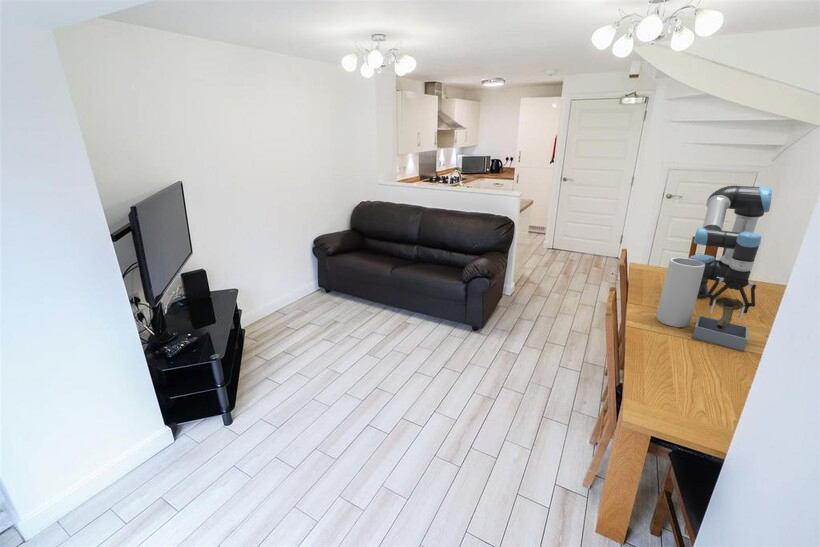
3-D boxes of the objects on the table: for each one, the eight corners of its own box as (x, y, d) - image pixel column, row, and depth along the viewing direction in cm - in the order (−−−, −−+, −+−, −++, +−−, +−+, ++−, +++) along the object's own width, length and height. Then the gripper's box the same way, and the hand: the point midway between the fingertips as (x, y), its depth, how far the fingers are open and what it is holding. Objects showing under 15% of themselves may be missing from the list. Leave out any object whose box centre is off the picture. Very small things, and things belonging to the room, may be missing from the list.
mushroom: (738, 334, 170) (749, 304, 165) (716, 332, 171) (726, 302, 166) (726, 324, 178) (736, 295, 173) (705, 322, 180) (714, 293, 175)
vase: (686, 318, 196) (702, 259, 185) (692, 330, 184) (709, 268, 173) (653, 313, 202) (667, 255, 191) (657, 324, 189) (672, 264, 179)
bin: (695, 326, 188) (698, 315, 186) (744, 338, 177) (748, 326, 175) (691, 338, 177) (695, 326, 175) (744, 352, 166) (748, 339, 164)
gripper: (707, 265, 169) (694, 311, 177) (774, 276, 156) (757, 326, 163) (708, 261, 174) (696, 306, 182) (773, 272, 161) (757, 319, 169)
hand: (725, 315), depth 173 cm, fingers closed on mushroom, 9 cm apart
